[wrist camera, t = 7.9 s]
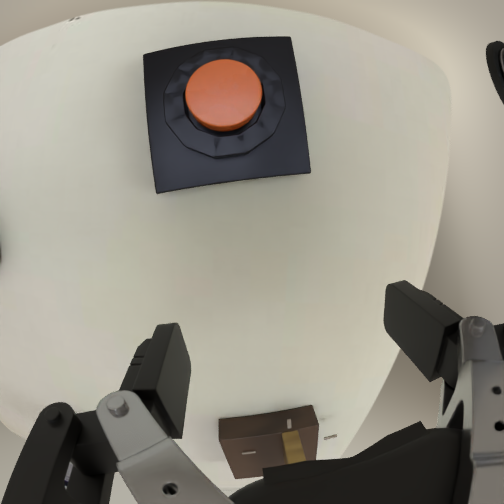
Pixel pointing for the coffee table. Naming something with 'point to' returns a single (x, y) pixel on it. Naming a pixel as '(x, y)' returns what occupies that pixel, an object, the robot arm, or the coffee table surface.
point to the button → (223, 94)
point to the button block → (229, 142)
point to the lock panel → (266, 439)
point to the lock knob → (292, 447)
